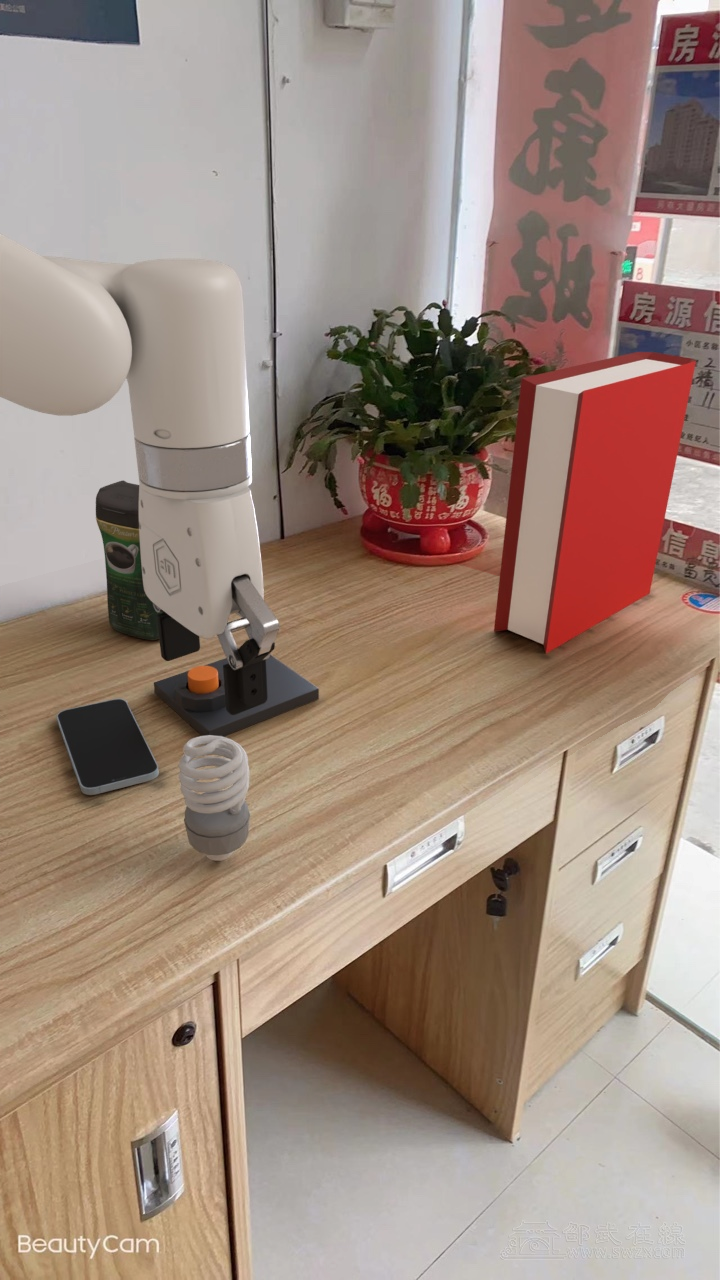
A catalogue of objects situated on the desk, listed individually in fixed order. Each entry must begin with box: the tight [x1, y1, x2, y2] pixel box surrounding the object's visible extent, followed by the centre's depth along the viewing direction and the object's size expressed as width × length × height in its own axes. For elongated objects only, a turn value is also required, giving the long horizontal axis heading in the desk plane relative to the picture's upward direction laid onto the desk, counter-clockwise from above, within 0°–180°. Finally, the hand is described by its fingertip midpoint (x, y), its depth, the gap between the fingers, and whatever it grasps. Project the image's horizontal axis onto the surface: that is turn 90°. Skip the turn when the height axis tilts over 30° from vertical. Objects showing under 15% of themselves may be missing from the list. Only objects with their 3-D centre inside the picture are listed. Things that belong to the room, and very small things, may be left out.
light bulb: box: [178, 735, 251, 862], centre depth 73 cm, size 6×6×12 cm
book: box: [493, 351, 697, 654], centre depth 112 cm, size 27×8×32 cm, turn 135°
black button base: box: [153, 654, 320, 737], centre depth 98 cm, size 14×12×3 cm
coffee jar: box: [95, 480, 162, 641], centre depth 108 cm, size 10×8×19 cm
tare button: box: [188, 665, 219, 694], centre depth 94 cm, size 3×3×2 cm
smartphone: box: [56, 698, 160, 796], centre depth 89 cm, size 7×1×15 cm
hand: (212, 679), depth 67 cm, fingers open, 9 cm apart
